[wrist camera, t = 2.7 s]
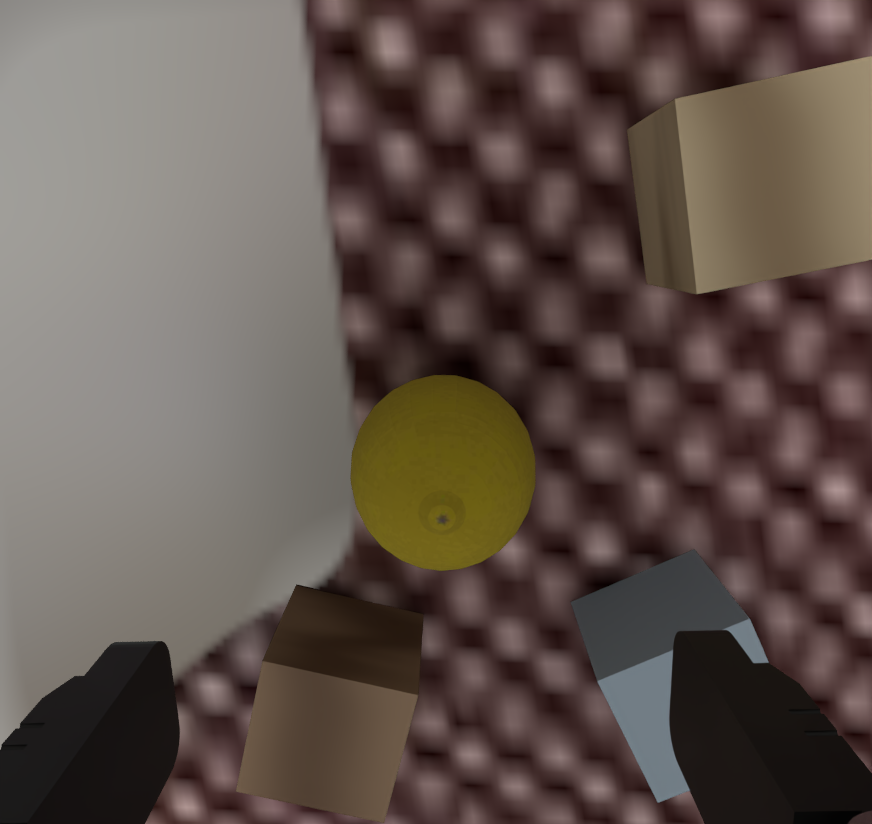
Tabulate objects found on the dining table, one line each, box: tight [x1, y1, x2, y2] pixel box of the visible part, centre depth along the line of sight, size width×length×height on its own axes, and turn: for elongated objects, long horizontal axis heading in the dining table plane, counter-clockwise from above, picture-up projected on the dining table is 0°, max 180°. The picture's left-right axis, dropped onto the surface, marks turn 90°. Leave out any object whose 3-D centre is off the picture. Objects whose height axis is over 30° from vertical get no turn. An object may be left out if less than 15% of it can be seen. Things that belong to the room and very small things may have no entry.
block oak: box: [627, 56, 872, 294], centre depth 20 cm, size 5×5×5 cm
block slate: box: [571, 550, 769, 803], centre depth 24 cm, size 5×5×5 cm
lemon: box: [351, 375, 535, 571], centre depth 21 cm, size 6×6×8 cm
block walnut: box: [236, 584, 424, 823], centre depth 25 cm, size 5×5×5 cm
